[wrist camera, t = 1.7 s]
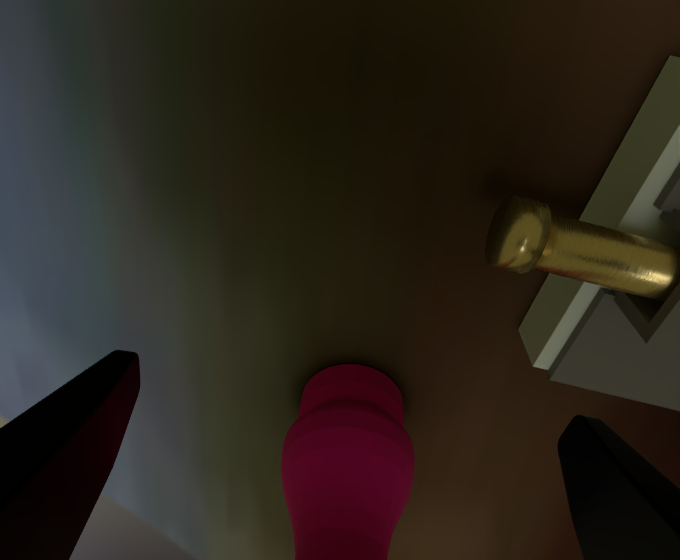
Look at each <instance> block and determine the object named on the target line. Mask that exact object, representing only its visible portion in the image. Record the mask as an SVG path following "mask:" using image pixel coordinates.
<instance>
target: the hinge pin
mask: <svg viewBox="0 0 680 560" xmlns="http://www.w3.org/2000/svg"><path fill="white" fill-rule="evenodd" d="M485 256H486V261H487V263H488V265H489V266H492V267H496V268H500V269H503V270H507V271H511V272H515V273H519V274H525V273H527V272H529V271H530V270H531V269H536V270H539V271H543V272H547V273H551V274H555V275H559V276H563V277H567V278H571V279H575V280H579V281H583V282H587V283H591V284H595V285H599V286H603V287H607V288H611V289H615V290H619V291H623V292H627V293H631V294H635V295H639V296H643V297H647V298H651V299H655V300H658V301H662V302H665V301H666V300H667V299H668V297H669V296H670V294H671V293H672V292H673V290H674V289H675V288H676V286H677V285H678V284H679V282H680V246H676V245H672V244H668V243H664V242H661V241H657V240H653V239H649V238H645V237H641V236H637V235H634V234H630V233H626V232H622V231H618V230H614V229H611V228H607V227H603V226H599V225H595V224H591V223H587V222H584V221H580V220H576V219H572V218H568V217H564V216H561V215H557V214H553V213H551V212H550V209H549V207H548V205H547V204H546V203H543V202H540V201H536V200H532V199H528V198H524V197H520V196H517V195H509V196H507V197H506V198H505V199H504V200H503V201H502V203H501V204H500V205H499V207H498V209H497V211H496V212H495V214H494V217H493V219H492V222H491V224H490V227H489V231H488V235H487V240H486V247H485Z"/></svg>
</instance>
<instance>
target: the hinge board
mask: <svg viewBox="0 0 680 560" xmlns="http://www.w3.org/2000/svg"><path fill="white" fill-rule="evenodd" d="M579 220H580V221H584V222H587V223H591V224H595V225H599V226H603V227H607V228H611V229H614V230H618V231H622V232H626V233H630V234H634V235H637V236H641V237H645V238H649V239H653V240H657V241H661V242H664V243H668V244H672V245H676V246H680V57H676V56H671V55H670V56H669V58H668V60H667V62H666V63H665V65H664V67H663V69H662V71H661V72H660V74H659V76H658V78H657V80H656V81H655V83H654V85H653V87H652V89H651V90H650V92H649V94H648V96H647V98H646V99H645V101H644V103H643V105H642V107H641V108H640V110H639V112H638V114H637V116H636V117H635V119H634V121H633V123H632V125H631V127H630V128H629V130H628V132H627V134H626V136H625V137H624V139H623V141H622V143H621V145H620V146H619V148H618V150H617V152H616V154H615V155H614V157H613V159H612V161H611V163H610V164H609V166H608V168H607V170H606V172H605V173H604V175H603V177H602V179H601V181H600V182H599V184H598V186H597V188H596V190H595V191H594V193H593V195H592V197H591V199H590V200H589V202H588V204H587V206H586V208H585V209H584V211H583V213H582V215H581V217H580V219H579ZM518 330H519V333H520V335H521V338H522V340H523V343H524V345H525V348H526V350H527V353H528V355H529V358H530V360H531V363H532V365H533V366H534V367H538V368H542V369H546V370H548V371H547V376H548V378H549V380H552V381H556V382H560V383H564V384H568V385H573V386H577V387H581V388H585V389H589V390H593V391H598V392H602V393H606V394H610V395H614V396H619V397H623V398H627V399H631V400H635V401H640V402H644V403H648V404H652V405H656V406H661V407H665V408H669V409H673V410H677V411H680V282H679V284H678V285H677V286H676V288H675V289H674V290H673V292H672V293H671V294H670V296H669V297H668V299H667V300H666V301H665V302H662V301H658V300H655V299H651V298H647V297H643V296H639V295H635V294H631V293H627V292H623V291H619V290H615V289H611V288H607V287H603V286H599V285H595V284H591V283H587V282H583V281H579V280H575V279H571V278H567V277H563V276H559V275H555V274H551V273H549V274H548V276H547V278H546V280H545V282H544V283H543V285H542V287H541V289H540V291H539V292H538V294H537V296H536V298H535V300H534V301H533V303H532V305H531V307H530V309H529V311H528V312H527V314H526V316H525V318H524V320H523V321H522V323H521V325H520V327H519V329H518Z"/></svg>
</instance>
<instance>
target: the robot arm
mask: <svg viewBox="0 0 680 560" xmlns="http://www.w3.org/2000/svg"><path fill="white" fill-rule="evenodd" d="M139 390H140V367H139V357H138V354H137V353H135V352H130V351H123V350H115V351H113V352H111V353H110V354H108V355H107V356H105V357H104V358H102V359H101V360H99V361H98V362H97V363H95V364H94V365H92V366H91V367H89V368H88V369H86V370H85V371H83V372H82V373H80V374H79V375H77V376H76V377H75V378H73V379H72V380H70V381H69V382H67V383H66V384H64V385H63V386H61V387H60V388H58V389H57V390H56V391H54V392H53V393H51V394H50V395H48V396H47V397H45V398H44V399H42V400H41V401H39V402H38V403H37V404H35V405H34V406H32V407H31V408H29V409H28V410H26V411H25V412H23V413H22V414H20V415H19V416H18V417H16V418H15V419H13V420H12V421H10V422H9V423H7V424H6V425H4V426H3V427H1V428H0V560H69V558H70V556H71V554H72V552H73V550H74V548H75V546H76V543H77V542H78V540H79V537H80V535H81V533H82V531H83V529H84V527H85V525H86V523H87V521H88V519H89V517H90V515H91V512H92V510H93V508H94V506H95V504H96V502H97V500H98V498H99V496H100V494H101V492H102V490H103V488H104V485H105V483H106V481H107V479H108V477H109V475H110V472H111V470H112V468H113V465H114V463H115V460H116V457H117V455H118V452H119V449H120V446H121V443H122V440H123V437H124V434H125V431H126V429H127V426H128V423H129V420H130V417H131V414H132V411H133V408H134V406H135V403H136V400H137V397H138V394H139ZM558 454H559V458H560V463H561V468H562V473H563V478H564V483H565V488H566V493H567V498H568V503H569V508H570V512H571V517H572V521H573V524H574V528H575V531H576V535H577V538H578V541H579V545H580V548H581V551H582V554H583V558H584V560H680V489H679V488H678V487H677V486H676V485H675V484H673V483H672V482H671V481H670V480H669V479H668V478H666V477H665V476H664V475H663V474H662V473H661V472H660V471H658V470H657V469H656V468H655V467H654V466H653V465H652V464H650V463H649V462H648V461H647V460H646V459H645V458H644V457H642V456H641V455H640V454H639V453H638V452H637V451H635V450H634V449H633V448H632V447H631V446H630V445H629V444H627V443H626V442H625V441H624V440H623V439H622V438H621V437H619V436H618V435H617V434H616V433H615V432H614V431H613V430H611V429H610V428H609V427H608V426H607V425H606V424H605V423H603V422H602V421H601V420H600V419H598V418H597V417H594V416H586V415H576V416H575V417H574V418H573V419H572V420H571V422H570V423H569V425H568V426H567V428H566V429H565V431H564V432H563V434H562V435H561V436H560V438H559V441H558Z"/></svg>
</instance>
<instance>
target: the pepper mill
mask: <svg viewBox="0 0 680 560" xmlns="http://www.w3.org/2000/svg"><path fill="white" fill-rule="evenodd" d="M403 425H404V417H403V400H402V395H401V393H400V390H399V389H398V387H397V386H396V384H395V383H394V382H393V381H392V380H391V379H390V378H389V377H388V376H386V375H385V374H384V373H382V372H380V371H378V370H376V369H374V368H371V367H367V366H363V365H359V364H341V365H336V366H332V367H328V368H326V369H324V370H322V371H320V372H318V373H317V374H315V375H314V376H313V377H312V378H311V379H310V380H309V381H308V383H307V384H306V386H305V388H304V390H303V393H302V399H301V404H300V409H299V419H298V420H297V421H296V422H295V423H294V424H293V425H292V426H291V427H290V429H289V431H288V433H287V435H286V437H285V440H284V444H283V452H282V461H281V473H282V483H283V491H284V494H285V498H286V502H287V506H288V509H289V513H290V517H291V522H292V526H293V531H294V541H295V560H387V556H388V551H389V546H390V542H391V537H392V534H393V532H394V529H395V527H396V524H397V522H398V520H399V518H400V516H401V514H402V512H403V510H404V508H405V505H406V503H407V501H408V498H409V495H410V492H411V488H412V484H413V480H414V460H415V454H414V449H413V445H412V442H411V439H410V437H409V435H408V433H407V432H406V430H405V429H404V428H403Z"/></svg>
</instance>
